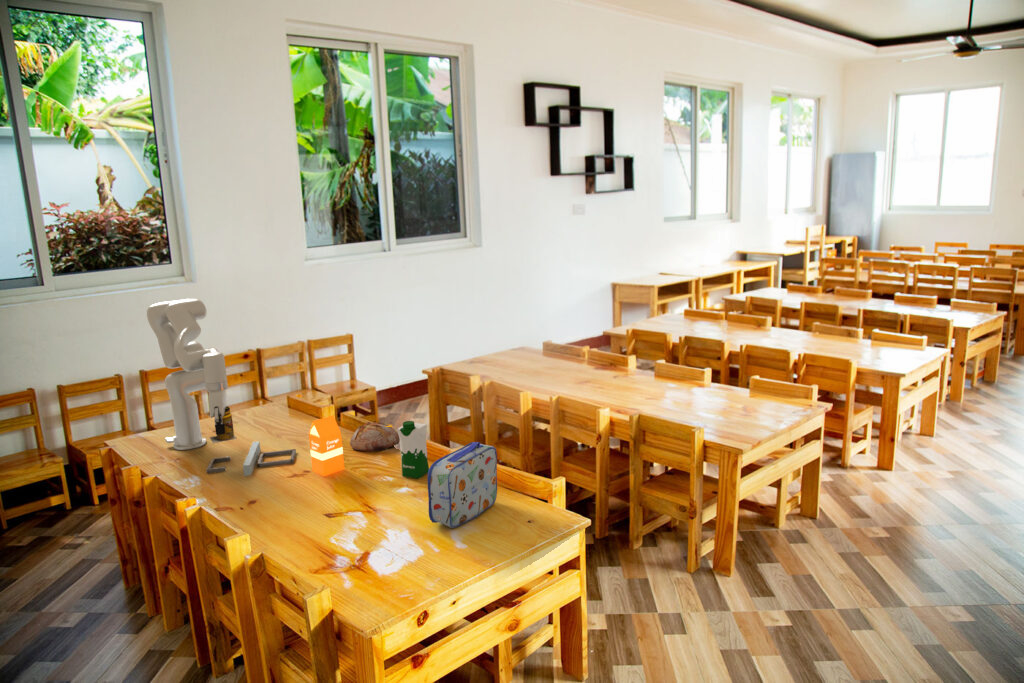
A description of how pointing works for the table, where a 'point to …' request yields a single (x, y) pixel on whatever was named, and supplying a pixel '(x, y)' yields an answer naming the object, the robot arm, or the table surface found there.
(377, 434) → the bread
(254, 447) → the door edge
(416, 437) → the milk carton
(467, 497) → the lunch box
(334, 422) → the orange juice
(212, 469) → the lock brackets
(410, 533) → the table surface
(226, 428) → the condiment
